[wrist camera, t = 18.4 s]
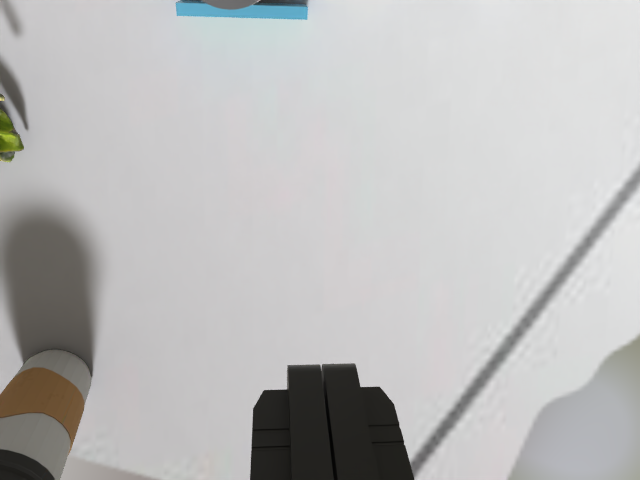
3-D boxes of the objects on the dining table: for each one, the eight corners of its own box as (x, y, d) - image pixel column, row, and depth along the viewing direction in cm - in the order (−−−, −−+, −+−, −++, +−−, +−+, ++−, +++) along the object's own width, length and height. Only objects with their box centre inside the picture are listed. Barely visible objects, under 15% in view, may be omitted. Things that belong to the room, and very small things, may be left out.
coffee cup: (34, 410, 54) (-43, 556, 41) (-2, 346, 50) (-100, 485, 37) (115, 396, 54) (64, 538, 41) (86, 332, 50) (19, 465, 37)
